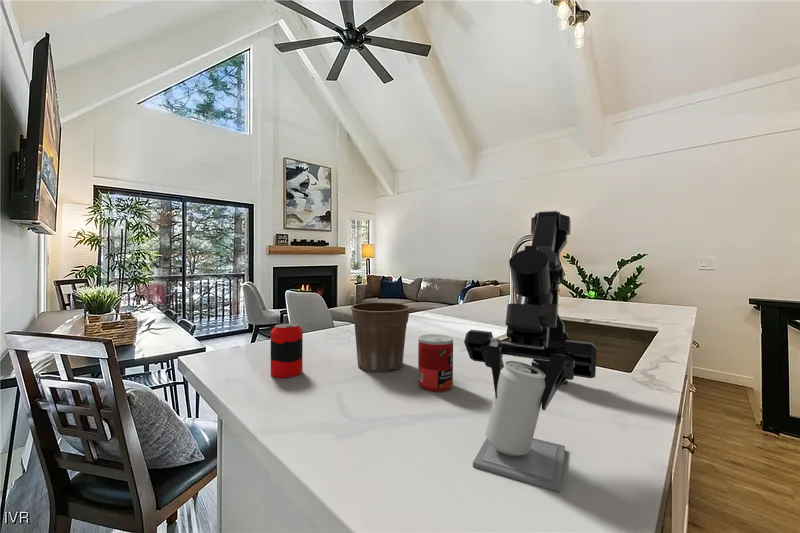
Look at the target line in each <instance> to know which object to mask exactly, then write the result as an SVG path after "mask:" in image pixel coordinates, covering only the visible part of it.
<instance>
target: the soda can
mask: <svg viewBox="0 0 800 533" xmlns="http://www.w3.org/2000/svg"><path fill="white" fill-rule="evenodd" d="M303 334H304V333H303V329H302V327H301V326H300V325H299V323H293V322H292V323H290V322H289V323H279V324H276V325H274V327H273V328H272V330H271V331H270V375H271V376H272V377H274V378H275V379H276V378H278V379H289V378H293V377H297V376H299V375H300V374H302V372H303V342H304V341H303V340H304V339H303Z"/></svg>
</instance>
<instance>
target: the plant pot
mask: <svg viewBox="0 0 800 533" xmlns="http://www.w3.org/2000/svg"><path fill="white" fill-rule="evenodd" d="M350 310H351V311H352V322H353V323H354V324H353V325H354V335H355V345H356V358H357V366H358V368H361V369H362V370H363V371H367V372H371V373H388V372H390V371H392V370H394V371H397V370H399V369H401V368H402V367H403V364H404V353H405V352H404V351H405V343H406V342H405V341H406V332H407V324H408V322H409V317H410V310H412V306H410V305H409V304H404V303H397V302H362V303H356V304H353V305H350Z"/></svg>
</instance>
